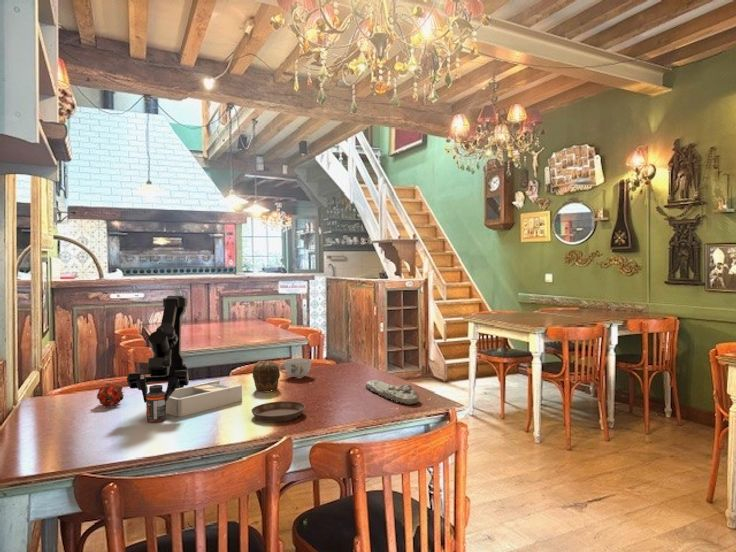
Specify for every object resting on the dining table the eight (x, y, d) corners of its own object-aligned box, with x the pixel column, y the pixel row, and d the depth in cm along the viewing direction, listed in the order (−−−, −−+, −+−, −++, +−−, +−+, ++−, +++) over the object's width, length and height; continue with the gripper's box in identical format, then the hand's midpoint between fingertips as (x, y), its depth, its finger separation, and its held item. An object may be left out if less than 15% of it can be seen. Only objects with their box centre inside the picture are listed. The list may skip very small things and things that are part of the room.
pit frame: (154, 409, 176) (154, 393, 176) (217, 394, 197) (217, 380, 197) (178, 417, 167) (178, 399, 167) (242, 400, 188) (241, 385, 188)
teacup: (309, 373, 236) (309, 356, 236) (314, 379, 224) (314, 361, 224) (277, 376, 232) (277, 358, 232) (280, 381, 220) (280, 363, 220)
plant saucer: (243, 424, 160) (243, 414, 159) (262, 408, 177) (262, 400, 177) (296, 425, 157) (296, 416, 157) (310, 410, 175) (310, 401, 175)
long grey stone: (380, 388, 211) (359, 392, 206) (379, 376, 211) (358, 380, 206) (427, 402, 180) (403, 408, 175) (426, 388, 180) (402, 393, 175)
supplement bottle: (143, 420, 164) (143, 386, 164) (161, 416, 168) (161, 383, 168) (150, 424, 159) (150, 389, 159) (169, 420, 164) (168, 385, 164)
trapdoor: (192, 395, 187) (192, 387, 187) (213, 391, 194) (213, 383, 194) (211, 400, 179) (211, 391, 179) (232, 395, 186) (232, 387, 186)
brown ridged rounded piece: (247, 392, 200) (247, 362, 200) (260, 386, 211) (259, 358, 211) (273, 393, 197) (272, 363, 197) (284, 387, 208) (283, 358, 208)
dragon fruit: (114, 404, 190) (111, 417, 179) (94, 394, 187) (89, 406, 176) (128, 386, 191) (126, 398, 180) (108, 375, 188) (104, 386, 177)
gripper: (127, 348, 165) (118, 389, 155) (187, 346, 169) (182, 386, 159) (134, 368, 173) (126, 408, 163) (190, 365, 177) (186, 404, 166)
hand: (155, 401), depth 162 cm, fingers closed on supplement bottle, 6 cm apart
